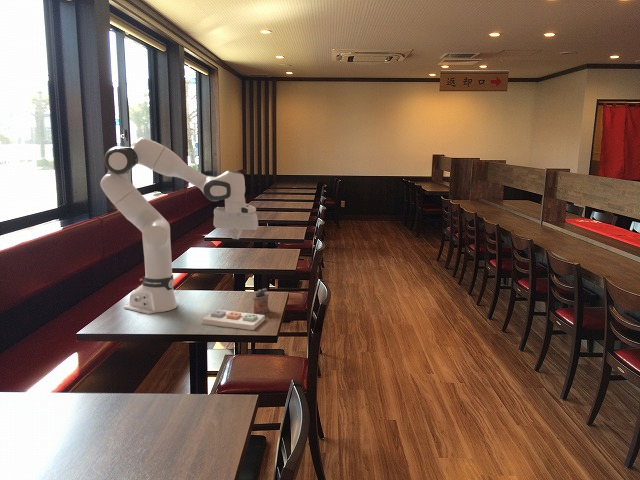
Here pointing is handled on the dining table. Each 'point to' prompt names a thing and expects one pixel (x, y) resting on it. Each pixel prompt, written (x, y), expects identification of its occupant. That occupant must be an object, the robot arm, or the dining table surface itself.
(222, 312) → the button slate
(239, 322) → the panel
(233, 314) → the button terracotta
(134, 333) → the dining table surface
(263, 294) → the lighter
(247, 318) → the button sage
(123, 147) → the robot arm
